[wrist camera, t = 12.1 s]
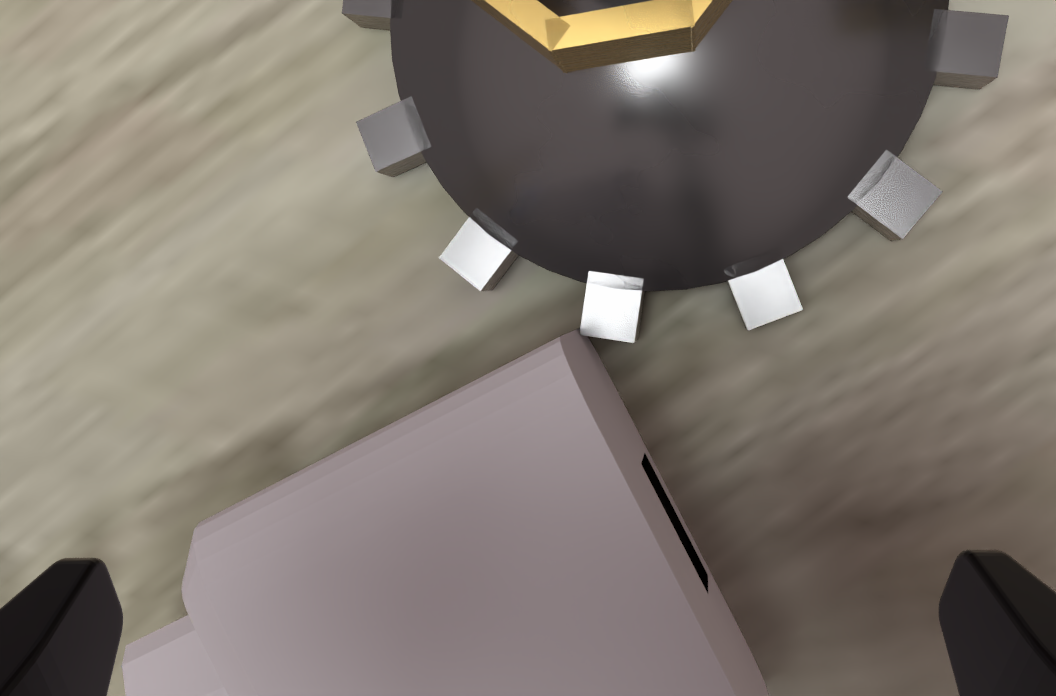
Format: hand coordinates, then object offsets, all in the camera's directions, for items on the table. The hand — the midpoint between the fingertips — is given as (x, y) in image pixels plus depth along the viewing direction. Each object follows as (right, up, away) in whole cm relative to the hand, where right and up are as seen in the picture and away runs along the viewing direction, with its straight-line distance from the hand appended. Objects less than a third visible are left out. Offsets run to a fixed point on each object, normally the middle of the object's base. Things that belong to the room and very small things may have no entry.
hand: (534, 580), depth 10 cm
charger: (-3, -4, +14) cm, 15 cm away
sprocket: (+3, +10, +11) cm, 15 cm away
